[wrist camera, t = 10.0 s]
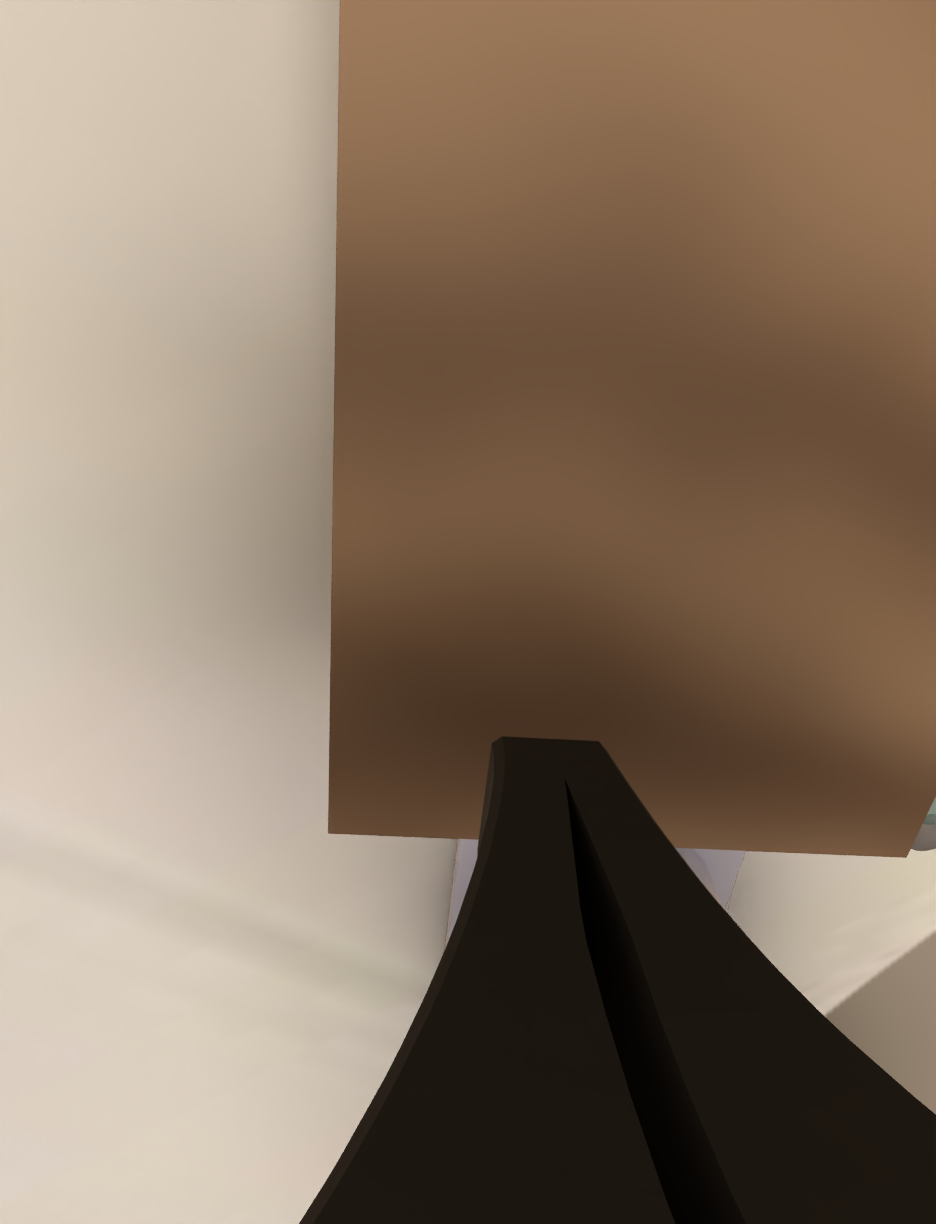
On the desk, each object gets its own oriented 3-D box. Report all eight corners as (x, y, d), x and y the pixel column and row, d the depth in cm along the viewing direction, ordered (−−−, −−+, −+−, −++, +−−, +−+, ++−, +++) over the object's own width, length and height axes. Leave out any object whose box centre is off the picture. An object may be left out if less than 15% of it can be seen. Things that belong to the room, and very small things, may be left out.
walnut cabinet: (793, 678, 22) (906, 857, 17) (354, 653, 21) (328, 833, 16) (1077, -151, 14) (1468, -306, 9) (381, -247, 13) (346, -481, 8)
